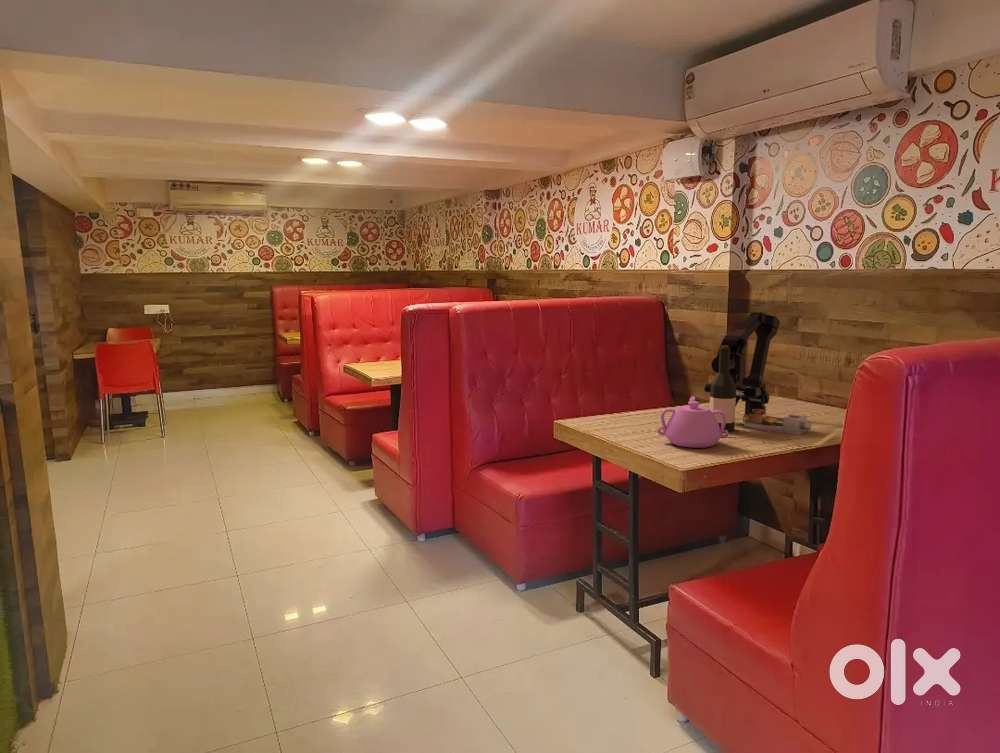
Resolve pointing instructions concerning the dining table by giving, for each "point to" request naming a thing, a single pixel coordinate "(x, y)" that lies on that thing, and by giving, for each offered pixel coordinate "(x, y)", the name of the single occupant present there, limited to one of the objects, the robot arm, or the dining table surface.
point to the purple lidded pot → (693, 426)
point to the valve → (759, 418)
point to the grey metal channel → (784, 426)
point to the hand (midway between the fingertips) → (731, 413)
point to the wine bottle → (724, 391)
